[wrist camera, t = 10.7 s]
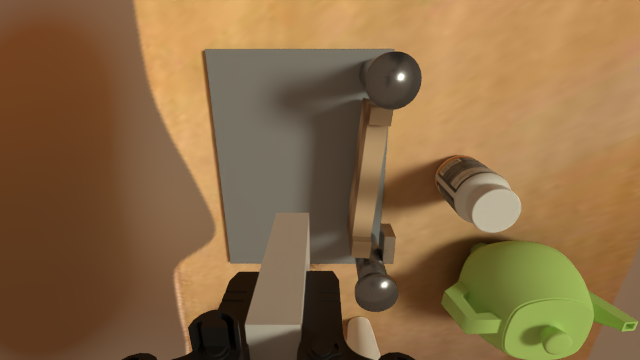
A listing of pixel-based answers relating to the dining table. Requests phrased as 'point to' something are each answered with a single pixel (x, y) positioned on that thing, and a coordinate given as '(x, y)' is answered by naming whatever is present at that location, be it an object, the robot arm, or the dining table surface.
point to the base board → (288, 144)
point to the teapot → (527, 301)
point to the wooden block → (366, 176)
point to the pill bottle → (477, 194)
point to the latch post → (377, 273)
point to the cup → (362, 338)
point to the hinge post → (391, 79)
